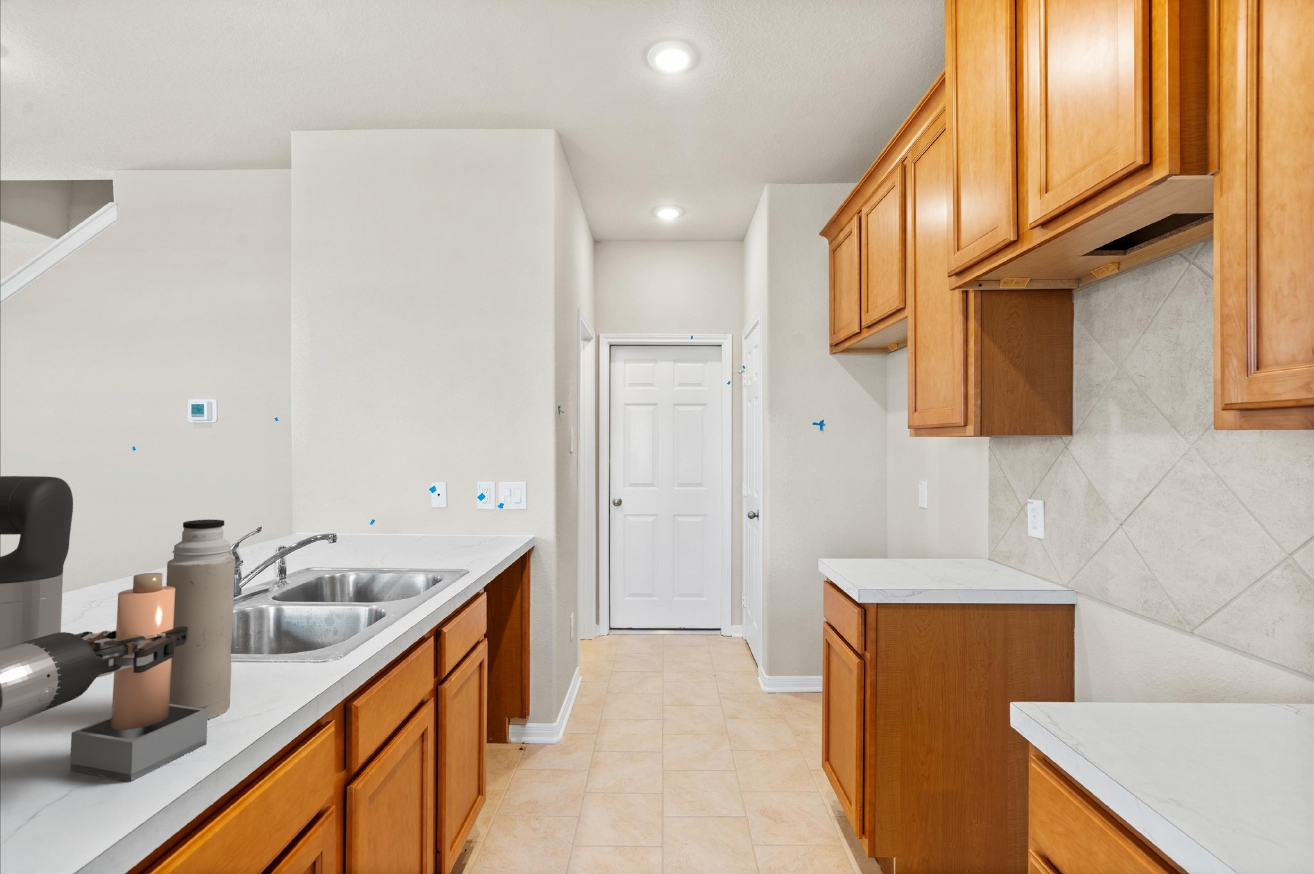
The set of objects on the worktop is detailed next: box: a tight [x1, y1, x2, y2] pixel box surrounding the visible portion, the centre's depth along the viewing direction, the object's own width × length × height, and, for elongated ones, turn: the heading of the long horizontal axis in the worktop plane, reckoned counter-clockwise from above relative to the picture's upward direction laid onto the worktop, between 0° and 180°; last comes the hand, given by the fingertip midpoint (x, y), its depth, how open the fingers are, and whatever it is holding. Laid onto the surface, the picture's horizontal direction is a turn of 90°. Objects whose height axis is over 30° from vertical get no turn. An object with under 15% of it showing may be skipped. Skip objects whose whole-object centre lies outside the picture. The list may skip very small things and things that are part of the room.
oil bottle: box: [111, 572, 175, 730], centre depth 76 cm, size 6×6×18 cm
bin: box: [69, 704, 208, 782], centre depth 76 cm, size 9×9×4 cm
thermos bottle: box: [165, 519, 236, 721], centre depth 89 cm, size 8×8×28 cm
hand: (161, 633), depth 79 cm, fingers closed on oil bottle, 5 cm apart
